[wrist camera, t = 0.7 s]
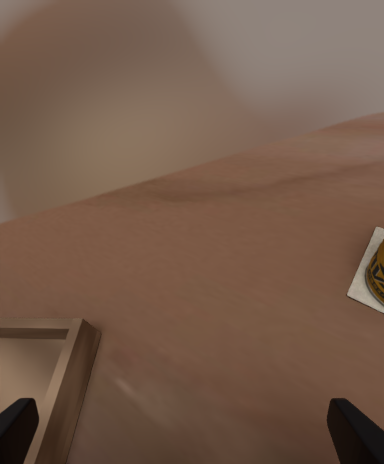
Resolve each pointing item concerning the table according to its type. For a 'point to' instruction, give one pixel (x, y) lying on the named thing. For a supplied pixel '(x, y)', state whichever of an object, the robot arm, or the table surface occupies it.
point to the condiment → (371, 274)
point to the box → (47, 377)
